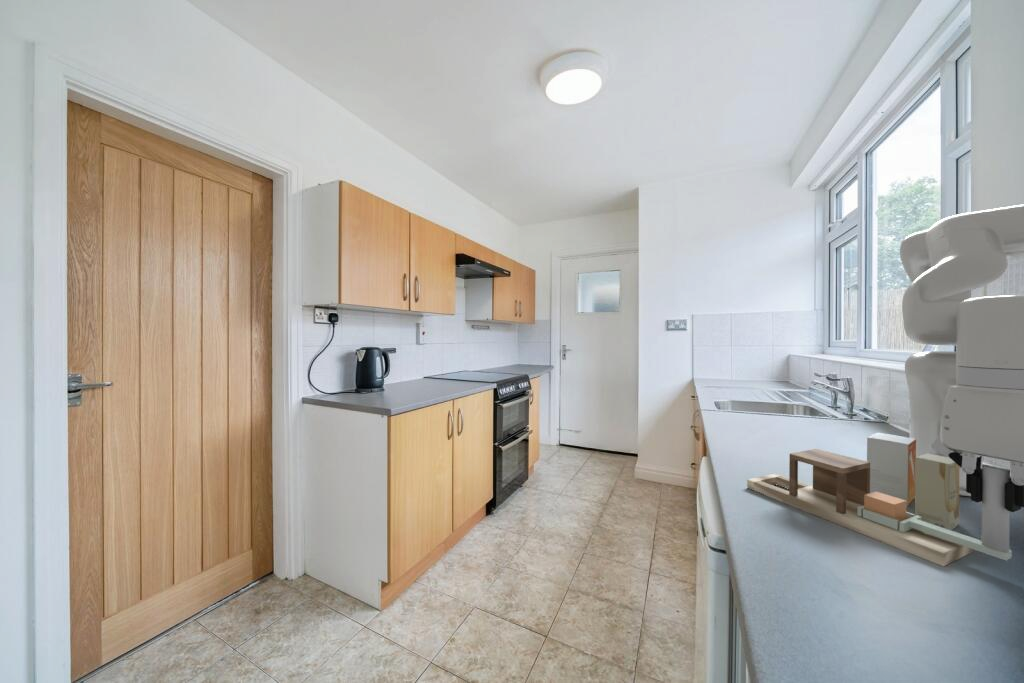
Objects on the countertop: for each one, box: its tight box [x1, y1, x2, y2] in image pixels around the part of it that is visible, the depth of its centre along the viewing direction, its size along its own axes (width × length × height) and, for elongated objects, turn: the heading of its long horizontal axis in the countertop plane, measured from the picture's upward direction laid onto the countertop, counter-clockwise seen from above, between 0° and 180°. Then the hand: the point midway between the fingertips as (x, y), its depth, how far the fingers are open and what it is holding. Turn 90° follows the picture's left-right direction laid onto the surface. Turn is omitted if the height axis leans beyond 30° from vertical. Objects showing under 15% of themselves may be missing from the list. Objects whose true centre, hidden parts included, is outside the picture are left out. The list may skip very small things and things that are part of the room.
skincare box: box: [914, 454, 960, 531], centre depth 66 cm, size 6×4×12 cm
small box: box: [866, 432, 916, 507], centre depth 77 cm, size 8×6×13 cm
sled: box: [857, 464, 1013, 561], centre depth 58 cm, size 6×16×13 cm, turn 22°
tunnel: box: [788, 448, 870, 514], centre depth 71 cm, size 9×9×8 cm
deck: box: [746, 473, 974, 567], centre depth 69 cm, size 10×30×2 cm, turn 22°
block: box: [864, 492, 907, 522], centre depth 63 cm, size 4×4×4 cm
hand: (995, 503), depth 52 cm, fingers closed on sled, 2 cm apart
